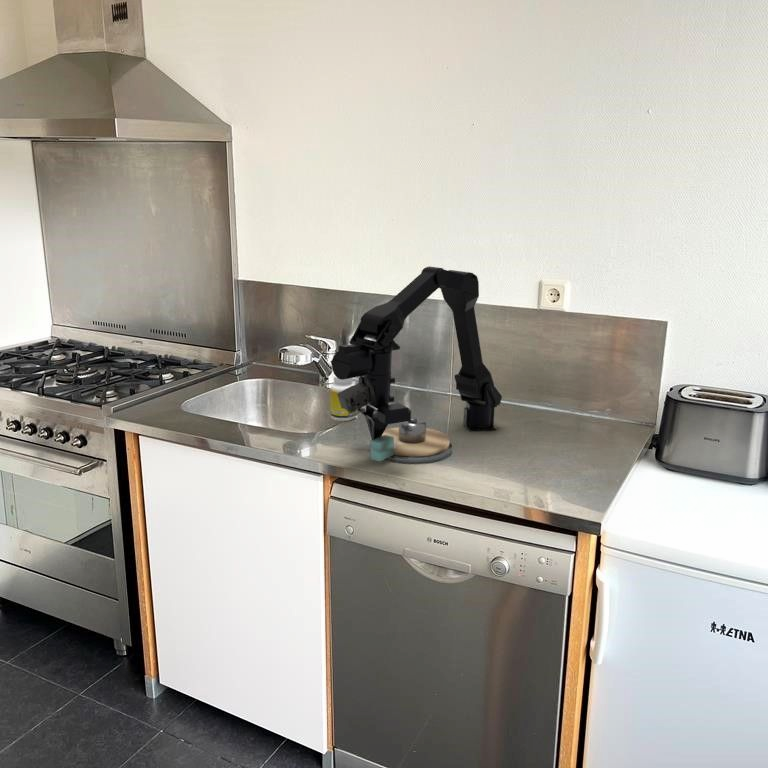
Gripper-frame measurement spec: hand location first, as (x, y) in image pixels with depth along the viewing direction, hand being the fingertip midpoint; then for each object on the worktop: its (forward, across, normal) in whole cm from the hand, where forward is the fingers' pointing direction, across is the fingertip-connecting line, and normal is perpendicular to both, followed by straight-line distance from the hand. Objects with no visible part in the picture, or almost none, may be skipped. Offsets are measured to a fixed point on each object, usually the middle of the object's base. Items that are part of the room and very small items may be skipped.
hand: (375, 442), depth 163 cm
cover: (+1, -1, +10) cm, 10 cm away
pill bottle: (+4, -29, +8) cm, 30 cm away
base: (+4, -2, +10) cm, 11 cm away
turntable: (+2, -1, +8) cm, 8 cm away
